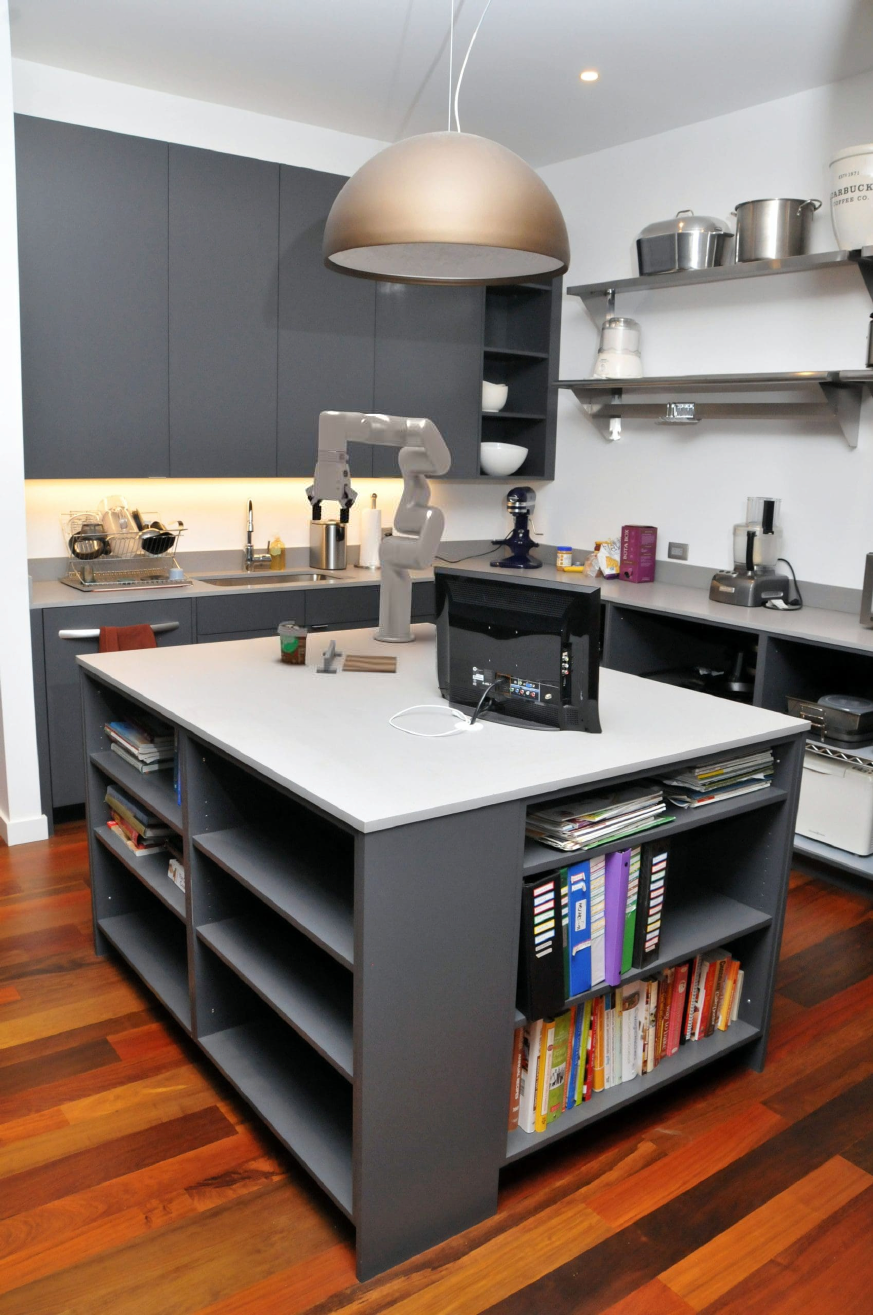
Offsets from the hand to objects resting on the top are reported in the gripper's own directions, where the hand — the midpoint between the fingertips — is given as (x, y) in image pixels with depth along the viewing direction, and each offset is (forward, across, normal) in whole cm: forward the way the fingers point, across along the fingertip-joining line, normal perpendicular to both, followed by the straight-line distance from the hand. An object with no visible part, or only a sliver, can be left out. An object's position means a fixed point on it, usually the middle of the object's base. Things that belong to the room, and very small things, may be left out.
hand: (330, 521), depth 274 cm
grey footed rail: (+37, -8, +8) cm, 39 cm away
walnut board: (+37, -16, +2) cm, 41 cm away
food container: (+38, +2, +14) cm, 40 cm away
